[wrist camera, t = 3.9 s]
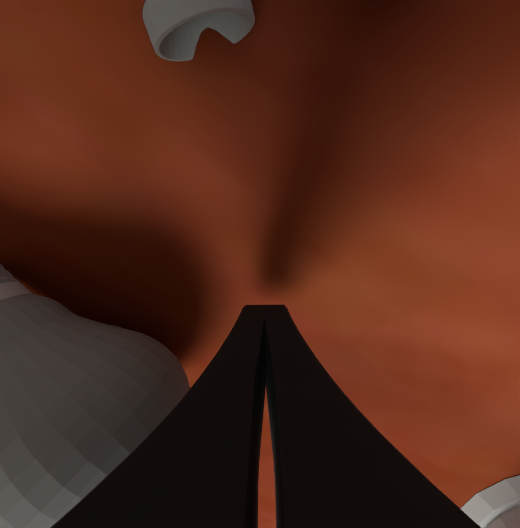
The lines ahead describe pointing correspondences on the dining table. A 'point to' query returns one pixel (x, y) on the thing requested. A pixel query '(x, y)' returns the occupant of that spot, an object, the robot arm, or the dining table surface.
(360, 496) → the robot arm
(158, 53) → the binoculars
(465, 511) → the french press
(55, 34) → the dining table surface
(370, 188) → the dining table surface
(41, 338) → the light bulb
